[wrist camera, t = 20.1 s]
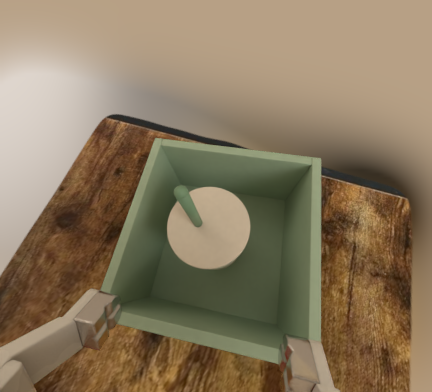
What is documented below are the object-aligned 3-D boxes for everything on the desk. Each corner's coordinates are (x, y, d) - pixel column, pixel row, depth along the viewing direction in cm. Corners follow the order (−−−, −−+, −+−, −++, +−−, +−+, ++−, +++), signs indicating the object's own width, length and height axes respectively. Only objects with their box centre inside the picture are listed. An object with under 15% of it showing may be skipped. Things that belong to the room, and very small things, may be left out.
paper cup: (245, 223, 25) (270, 144, 10) (238, 277, 23) (255, 277, 8) (196, 214, 26) (152, 130, 11) (183, 266, 24) (107, 248, 9)
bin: (290, 197, 27) (321, 158, 18) (282, 333, 21) (321, 375, 12) (177, 180, 29) (155, 137, 20) (143, 301, 23) (90, 317, 14)
